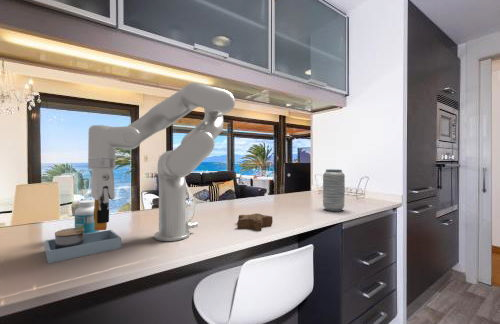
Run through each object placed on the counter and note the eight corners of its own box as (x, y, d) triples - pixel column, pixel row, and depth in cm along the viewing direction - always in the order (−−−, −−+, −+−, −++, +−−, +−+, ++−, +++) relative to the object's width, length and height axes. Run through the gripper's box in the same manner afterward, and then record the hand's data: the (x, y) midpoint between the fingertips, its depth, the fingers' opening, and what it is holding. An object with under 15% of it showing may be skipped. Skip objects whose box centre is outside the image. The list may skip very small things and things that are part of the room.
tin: (82, 246, 80) (82, 226, 80) (86, 252, 75) (86, 231, 75) (53, 251, 76) (53, 230, 75) (56, 258, 70) (56, 236, 70)
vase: (331, 212, 135) (331, 170, 135) (318, 208, 146) (319, 169, 146) (349, 211, 139) (349, 169, 139) (335, 207, 150) (335, 169, 150)
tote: (111, 240, 88) (111, 229, 88) (121, 249, 79) (121, 237, 79) (45, 252, 76) (45, 240, 76) (48, 265, 67) (48, 251, 67)
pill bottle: (70, 239, 88) (70, 201, 88) (93, 234, 94) (93, 198, 94) (80, 243, 84) (80, 203, 84) (103, 238, 90) (103, 200, 90)
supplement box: (107, 227, 83) (107, 197, 83) (106, 230, 80) (106, 198, 80) (95, 228, 82) (95, 197, 82) (93, 231, 78) (94, 199, 78)
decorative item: (278, 217, 106) (250, 217, 97) (277, 232, 106) (248, 233, 97) (255, 211, 119) (228, 211, 110) (254, 224, 118) (227, 225, 109)
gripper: (122, 164, 77) (121, 224, 77) (108, 163, 89) (107, 215, 89) (93, 164, 72) (93, 228, 72) (83, 163, 84) (82, 218, 84)
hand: (101, 220), depth 81 cm, fingers closed on supplement box, 4 cm apart
